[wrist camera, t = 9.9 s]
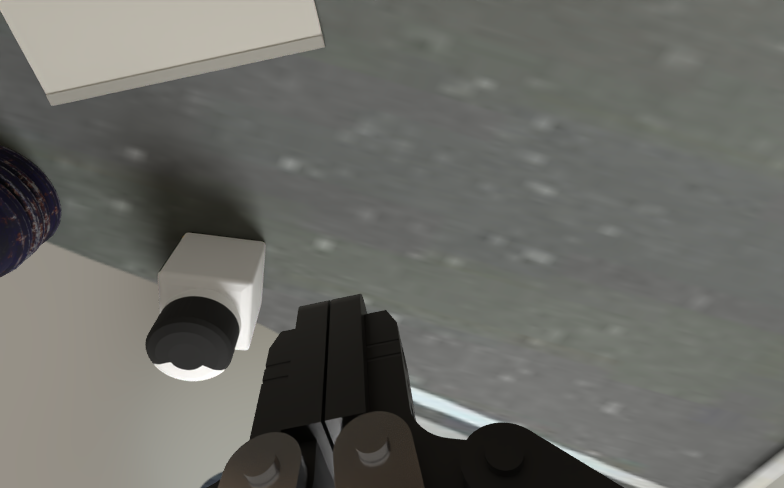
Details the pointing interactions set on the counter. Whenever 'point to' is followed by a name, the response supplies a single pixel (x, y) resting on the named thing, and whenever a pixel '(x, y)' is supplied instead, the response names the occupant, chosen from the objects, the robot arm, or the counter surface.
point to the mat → (151, 39)
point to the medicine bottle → (206, 305)
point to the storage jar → (24, 209)
